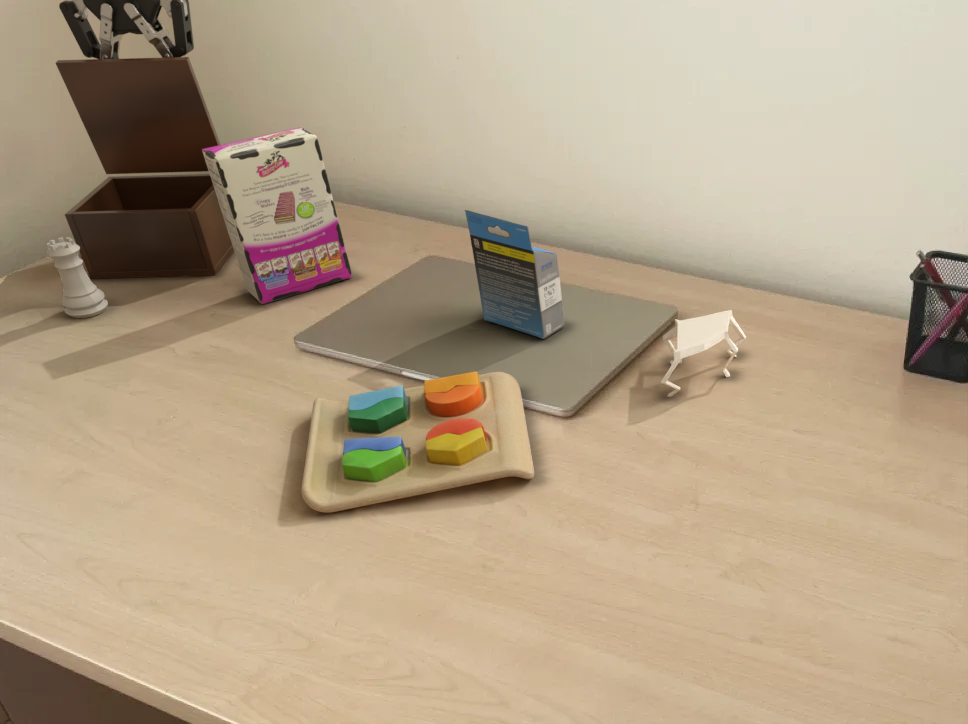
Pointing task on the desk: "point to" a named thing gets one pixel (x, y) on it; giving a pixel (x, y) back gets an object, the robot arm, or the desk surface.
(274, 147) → the candy bar box
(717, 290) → the desk surface
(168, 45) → the robot arm
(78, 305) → the rook chess piece
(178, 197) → the compartment
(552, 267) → the tape cartridge
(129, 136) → the compartment lid
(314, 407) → the puzzle board
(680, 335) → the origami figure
